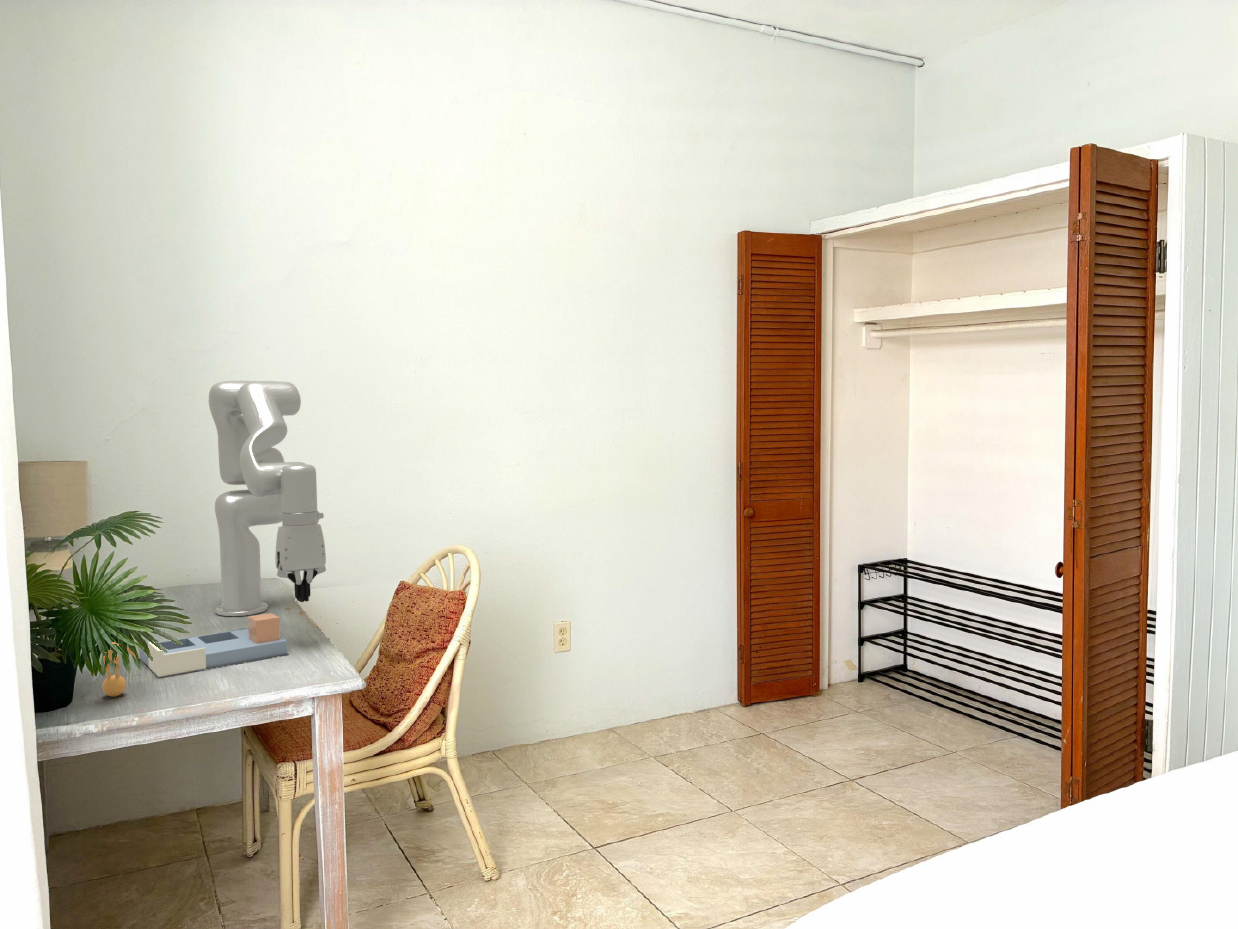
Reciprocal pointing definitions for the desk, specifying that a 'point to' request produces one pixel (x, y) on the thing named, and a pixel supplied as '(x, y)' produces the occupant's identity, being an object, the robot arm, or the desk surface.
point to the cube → (263, 628)
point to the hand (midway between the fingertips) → (302, 600)
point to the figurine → (114, 677)
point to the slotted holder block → (209, 652)
